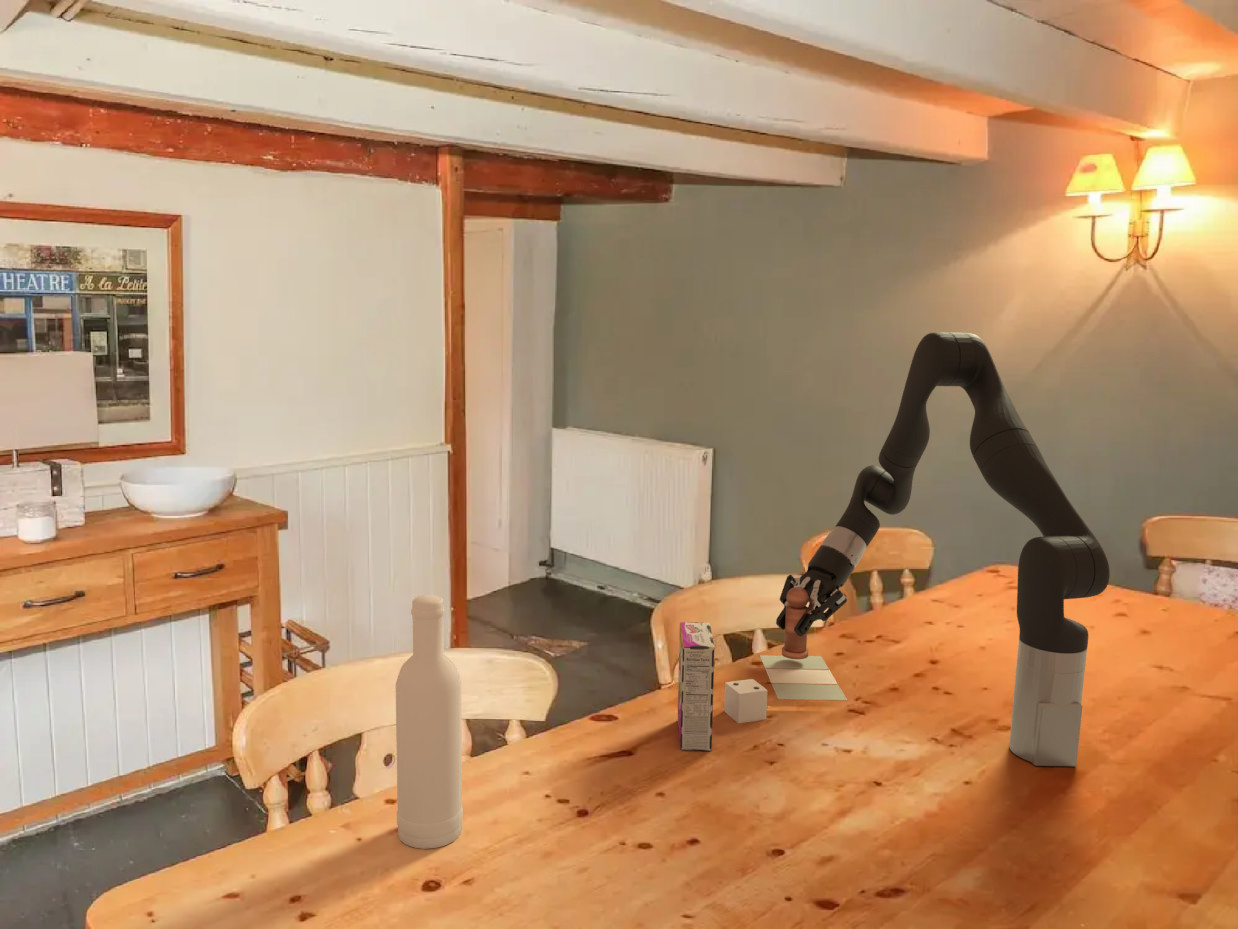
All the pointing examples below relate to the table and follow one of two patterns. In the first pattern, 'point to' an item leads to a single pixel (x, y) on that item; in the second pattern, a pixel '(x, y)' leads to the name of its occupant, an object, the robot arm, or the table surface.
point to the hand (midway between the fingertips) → (788, 629)
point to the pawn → (794, 612)
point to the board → (801, 678)
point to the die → (745, 701)
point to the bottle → (429, 735)
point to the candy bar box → (695, 686)
